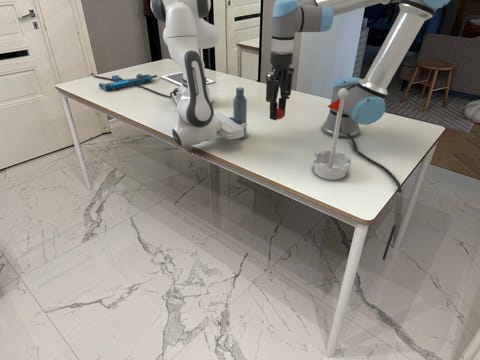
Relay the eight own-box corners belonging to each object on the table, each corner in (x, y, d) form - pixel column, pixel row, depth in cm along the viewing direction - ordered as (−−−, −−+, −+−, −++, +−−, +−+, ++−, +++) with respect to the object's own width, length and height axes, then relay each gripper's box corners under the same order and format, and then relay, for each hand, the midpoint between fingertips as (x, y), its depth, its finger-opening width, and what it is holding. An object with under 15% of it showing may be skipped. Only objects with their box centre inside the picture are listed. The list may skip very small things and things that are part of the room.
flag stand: (334, 159, 128) (348, 80, 112) (356, 176, 118) (375, 92, 101) (304, 166, 124) (314, 84, 108) (324, 184, 114) (338, 97, 97)
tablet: (160, 77, 218) (160, 76, 218) (186, 71, 229) (186, 70, 229) (187, 89, 198) (187, 88, 198) (215, 82, 209) (215, 81, 209)
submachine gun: (143, 68, 224) (161, 74, 208) (144, 74, 226) (162, 80, 210) (91, 78, 206) (107, 86, 189) (92, 84, 208) (108, 92, 191)
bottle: (237, 140, 142) (237, 91, 131) (231, 135, 146) (230, 87, 135) (249, 137, 145) (249, 89, 133) (242, 132, 149) (242, 85, 137)
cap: (283, 119, 124) (284, 112, 123) (271, 119, 124) (271, 112, 123) (282, 114, 128) (283, 108, 126) (270, 114, 128) (271, 108, 126)
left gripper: (225, 130, 127) (255, 123, 133) (201, 113, 142) (229, 106, 148) (225, 145, 131) (255, 137, 137) (202, 127, 145) (229, 120, 151)
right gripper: (287, 46, 121) (282, 108, 133) (256, 54, 110) (254, 121, 123) (305, 49, 117) (298, 113, 129) (274, 58, 106) (270, 127, 119)
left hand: (241, 121), depth 142 cm, fingers closed on bottle, 5 cm apart
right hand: (277, 117), depth 126 cm, fingers closed on cap, 4 cm apart
